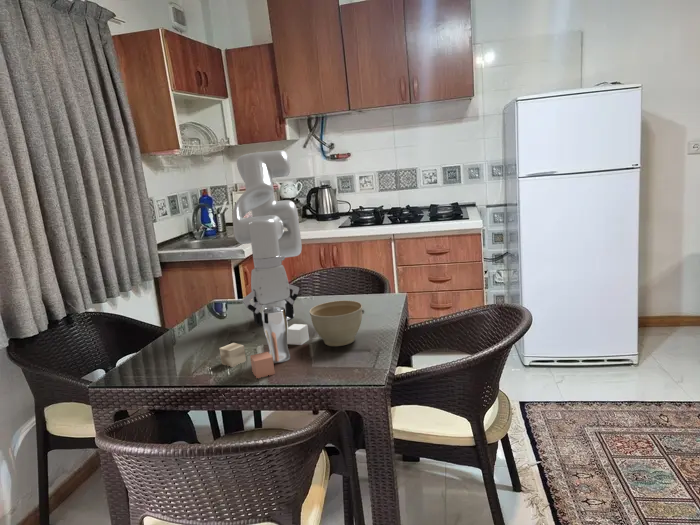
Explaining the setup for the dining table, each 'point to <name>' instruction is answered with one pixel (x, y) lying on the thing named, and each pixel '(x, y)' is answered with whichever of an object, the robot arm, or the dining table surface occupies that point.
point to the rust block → (262, 364)
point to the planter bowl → (337, 321)
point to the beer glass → (276, 332)
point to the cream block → (297, 334)
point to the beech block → (232, 354)
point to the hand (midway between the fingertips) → (275, 321)
